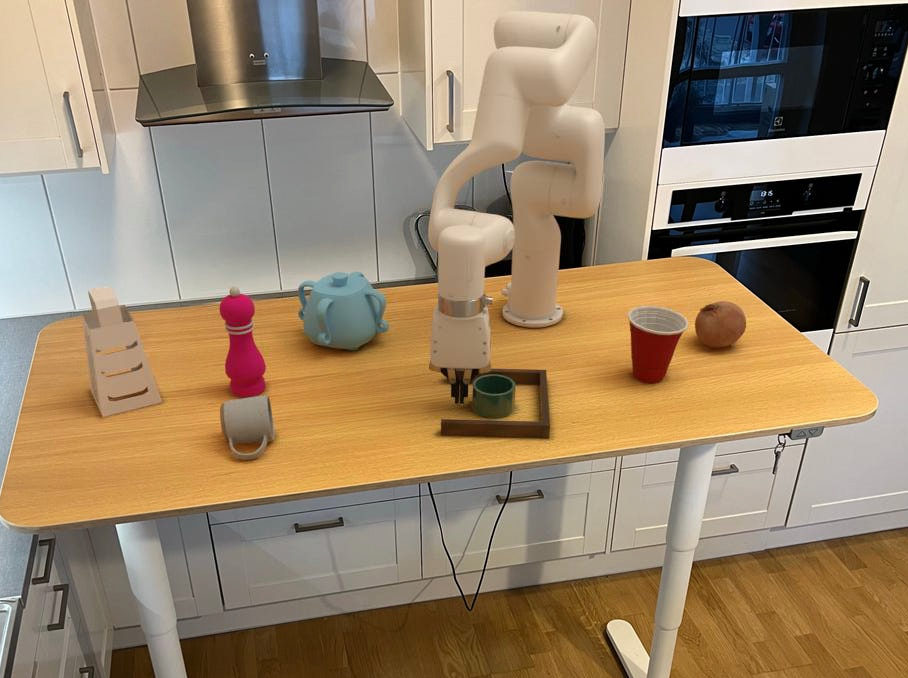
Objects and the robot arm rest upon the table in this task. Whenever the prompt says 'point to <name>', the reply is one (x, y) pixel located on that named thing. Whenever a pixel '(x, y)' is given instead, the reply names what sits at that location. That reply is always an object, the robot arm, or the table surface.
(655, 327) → the plastic cup
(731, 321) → the onion
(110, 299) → the grater
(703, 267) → the table surface
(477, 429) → the walnut bay
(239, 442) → the ceramic mug
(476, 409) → the green cup
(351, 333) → the decorative pot
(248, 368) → the pepper mill
